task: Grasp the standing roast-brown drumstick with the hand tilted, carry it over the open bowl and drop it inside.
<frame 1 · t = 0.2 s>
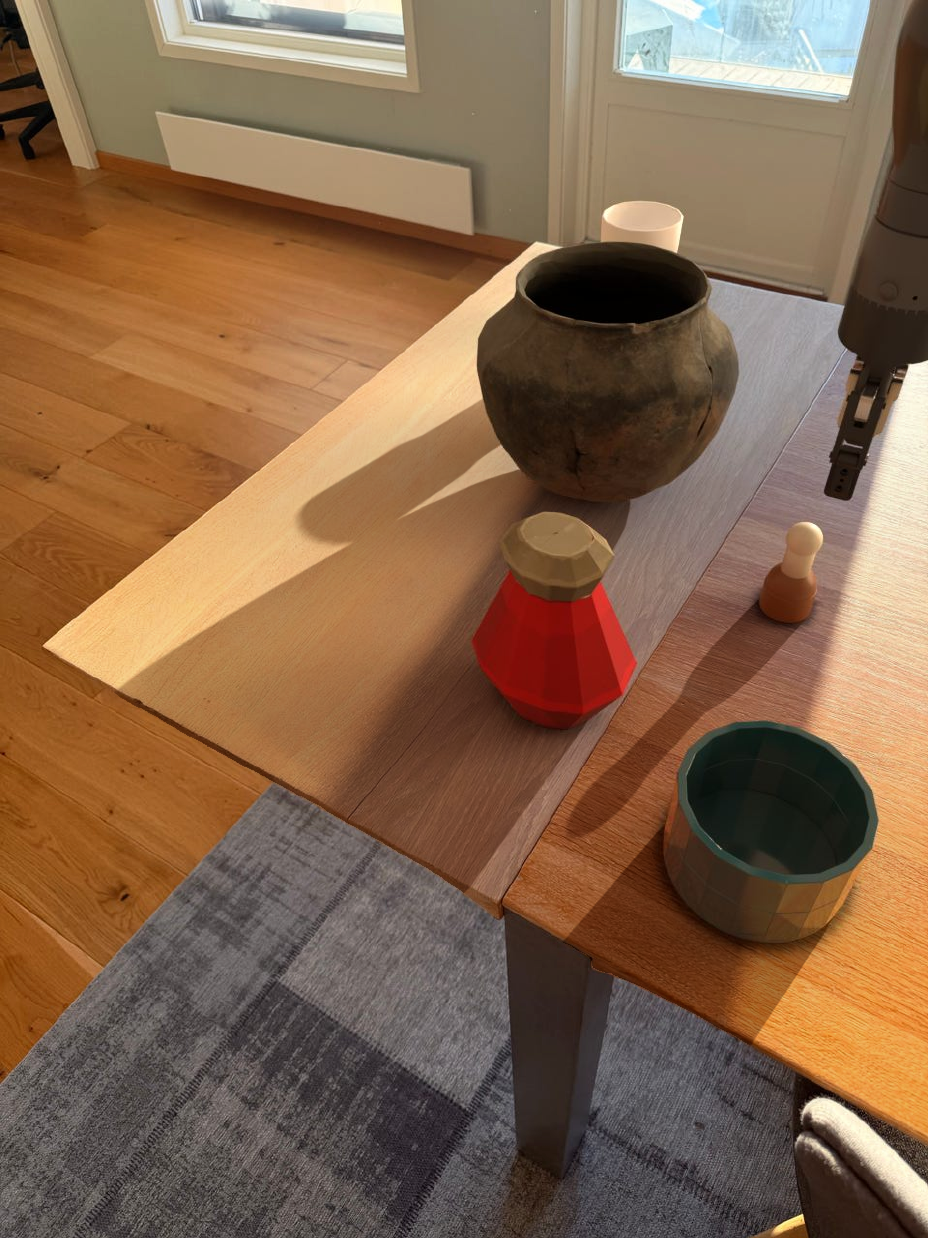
hand: (847, 468, 77), 21 cm above the table, tool pointing down, fingers open, 8 cm apart
bottle: (550, 695, 87), on the table
pot: (598, 478, 112), on the table
cup: (630, 332, 139), on the table
drumstick: (784, 605, 95), on the table
bowl: (752, 859, 74), on the table
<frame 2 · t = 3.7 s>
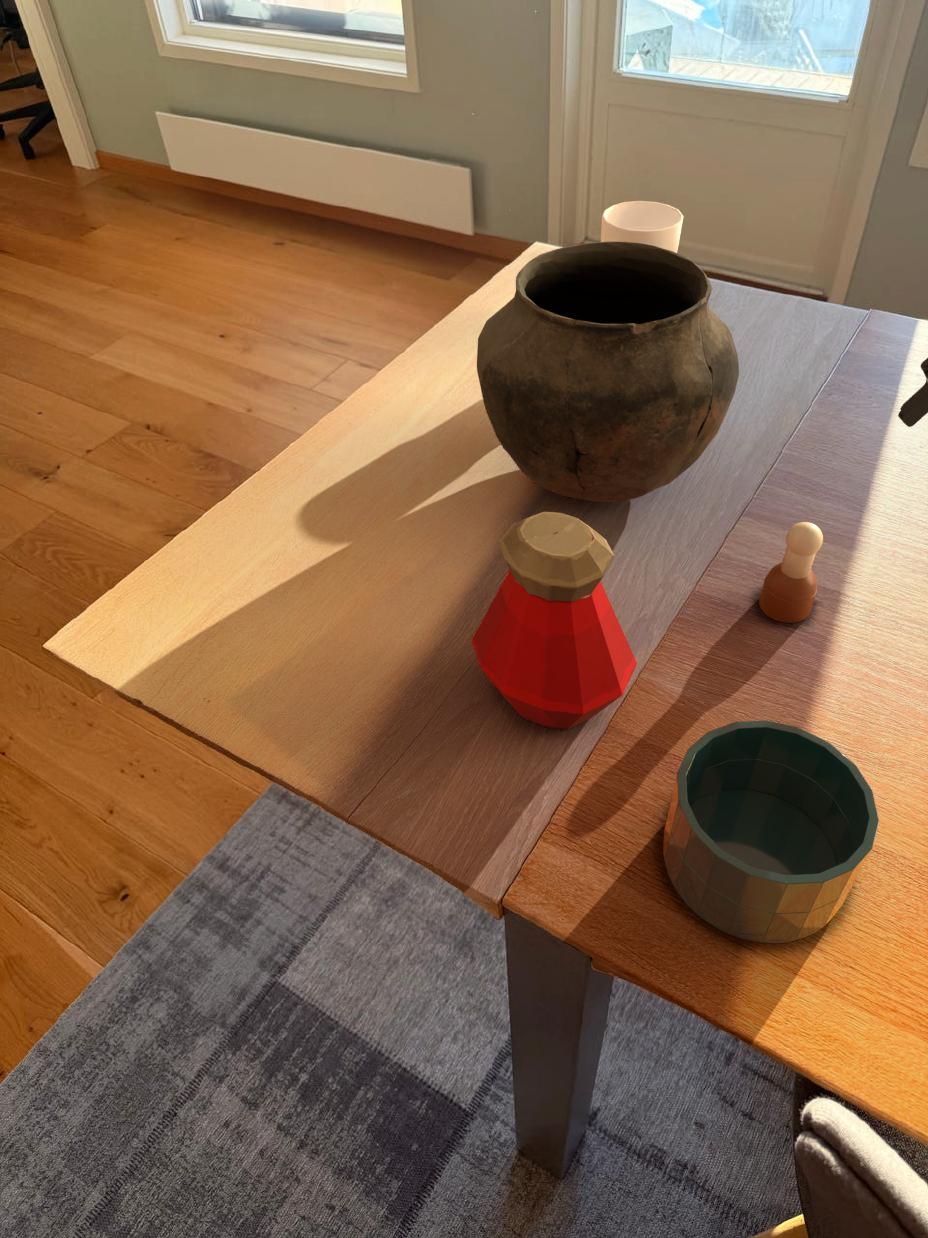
nothing on the table moved.
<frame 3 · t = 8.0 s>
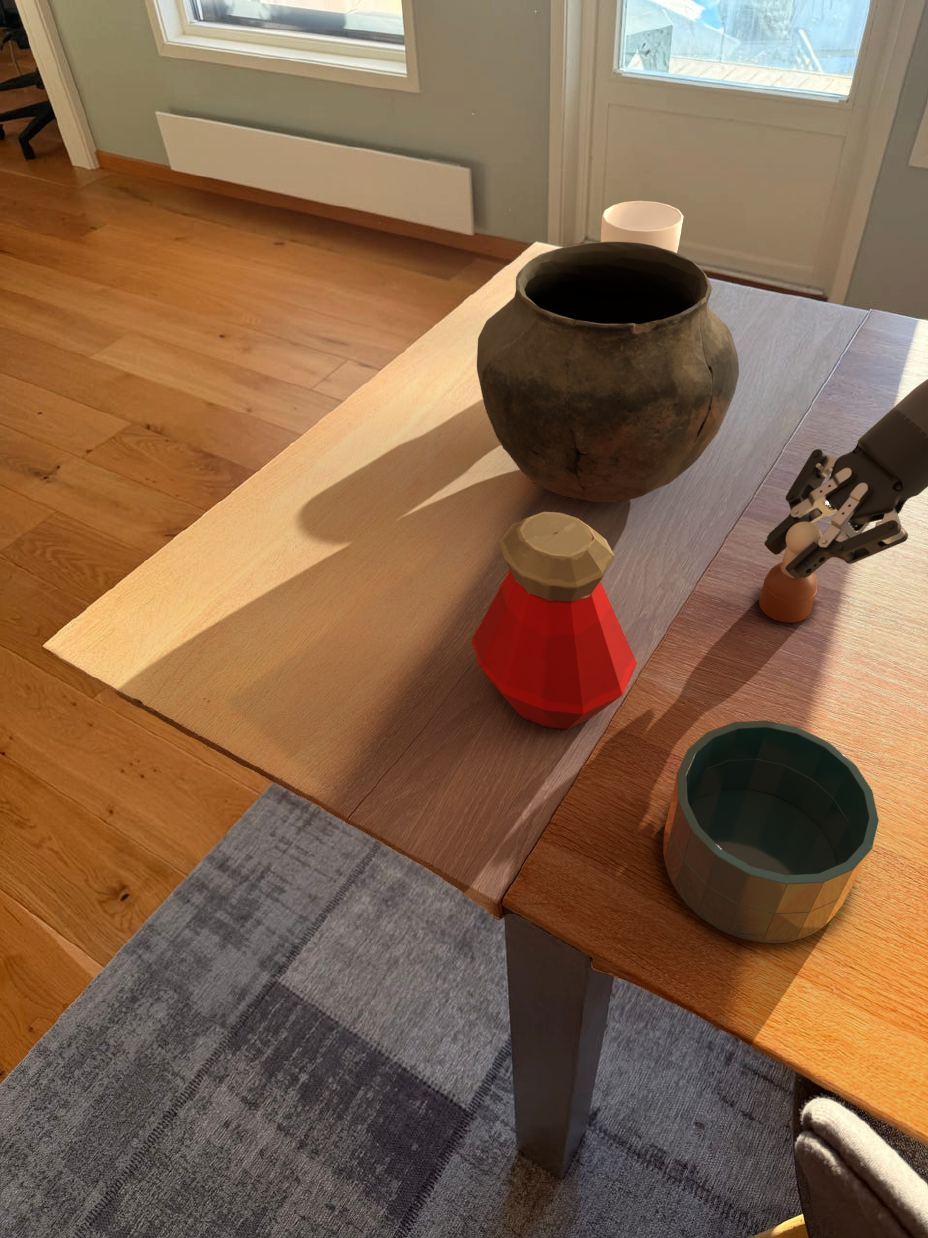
hand: (781, 561, 90), 7 cm above the table, tool tilted 45°, fingers closed on drumstick, 3 cm apart
drumstick: (784, 605, 95), on the table, touching gripper
everything else where it was.
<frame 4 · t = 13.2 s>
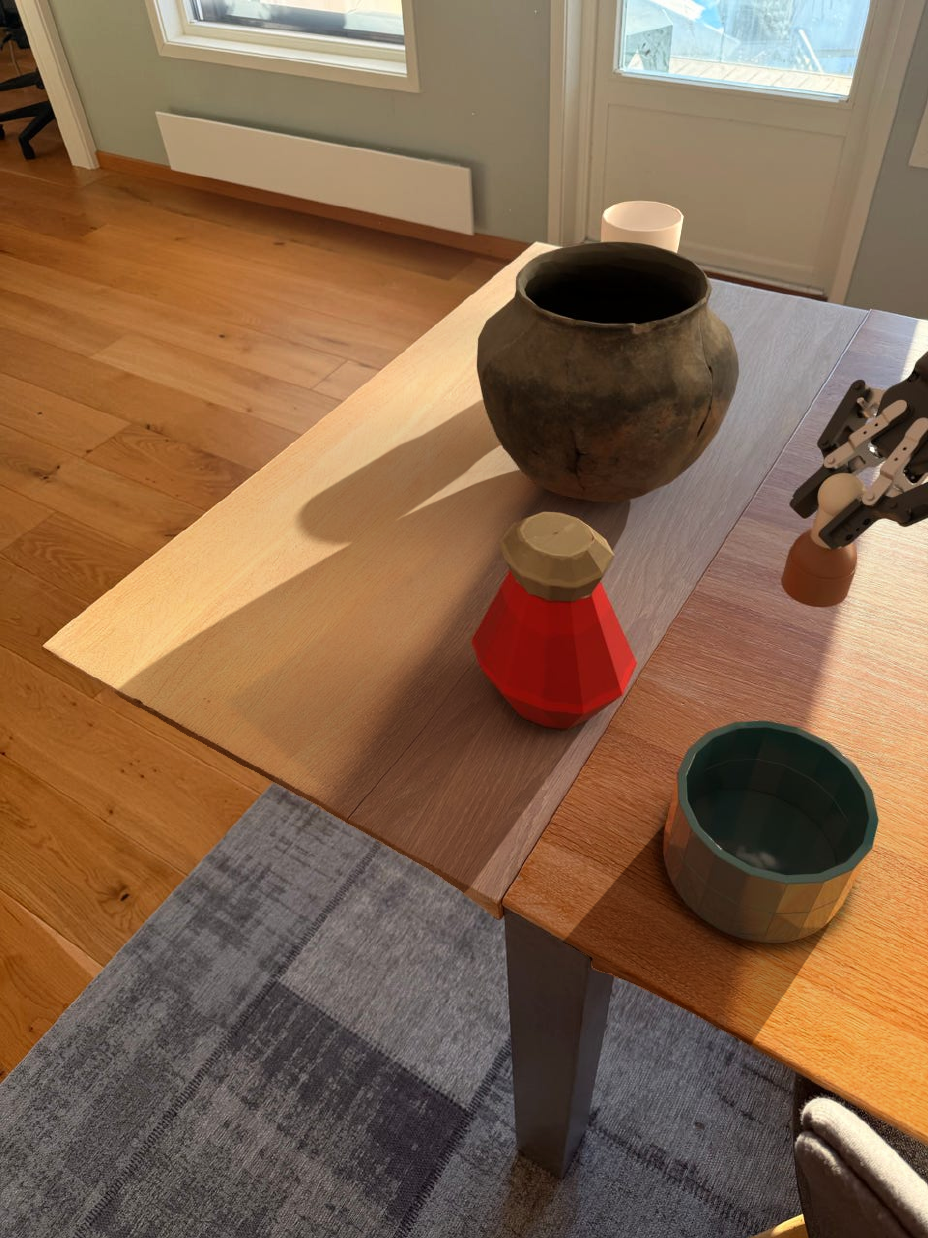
hand: (811, 526, 69), 23 cm above the table, tool tilted 45°, fingers closed on drumstick, 3 cm apart
drumstick: (814, 586, 74), point 16 cm above the table, touching gripper
everything else where it was.
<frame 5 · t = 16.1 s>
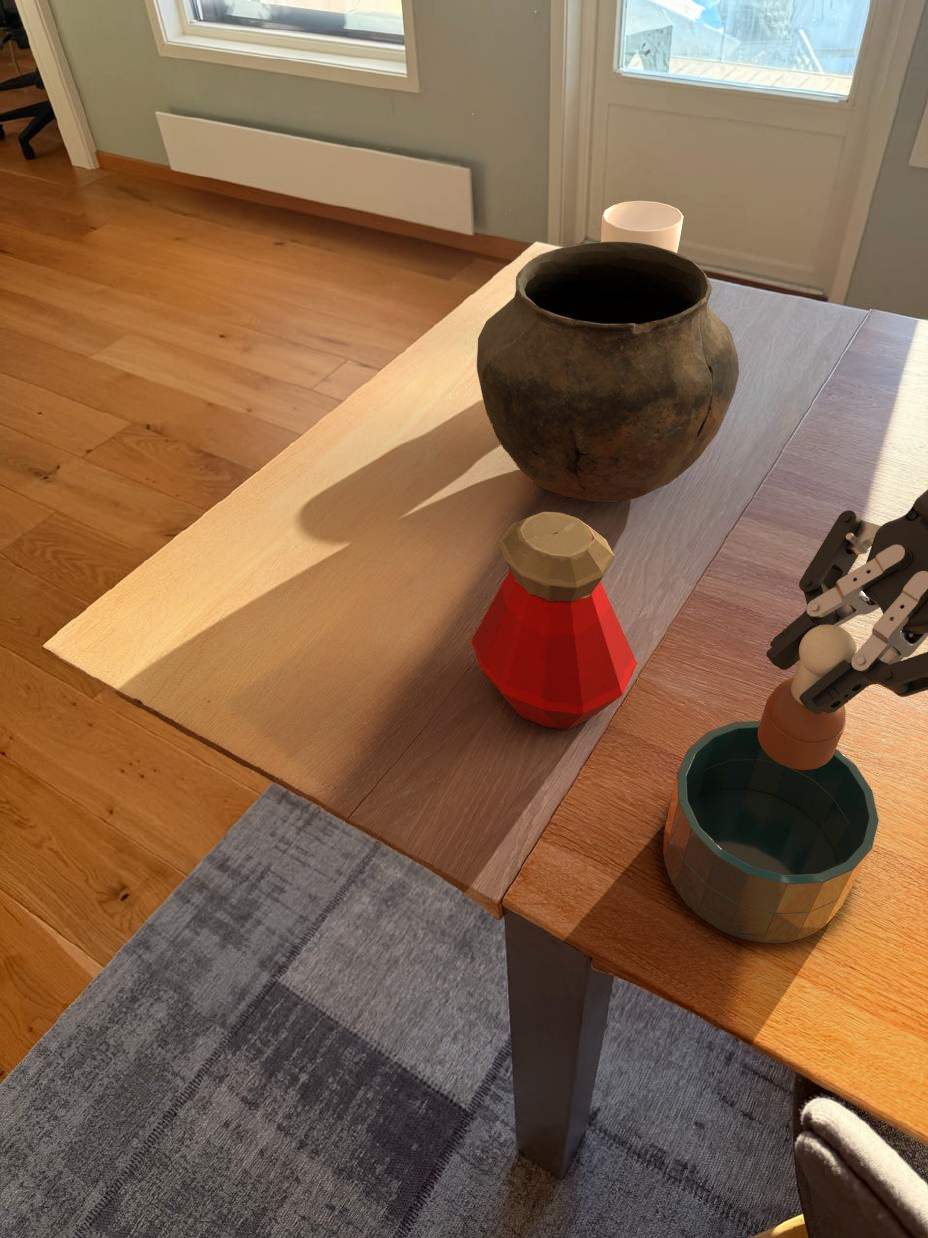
hand: (792, 683, 58), 22 cm above the table, tool tilted 45°, fingers closed on drumstick, 3 cm apart
drumstick: (795, 740, 63), point 15 cm above the table, touching gripper
everything else where it was.
when the fingers open (15 cm above the table, at t = 18.6 s): drumstick drops 8 cm, resting on bowl.
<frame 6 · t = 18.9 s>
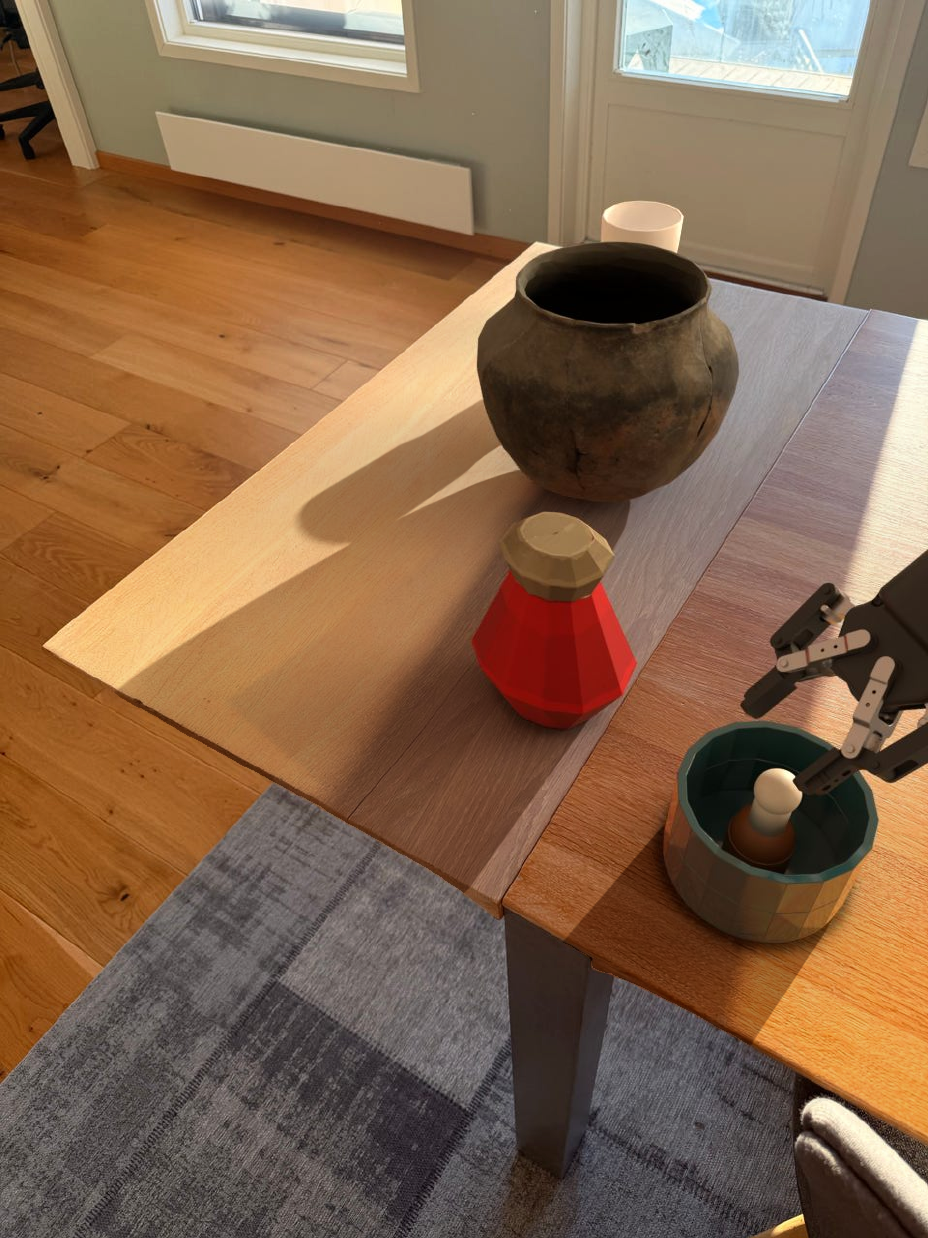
hand: (773, 749, 63), 15 cm above the table, tool tilted 45°, fingers open, 6 cm apart
drumstick: (754, 855, 74), resting on bowl
everything else where it was.
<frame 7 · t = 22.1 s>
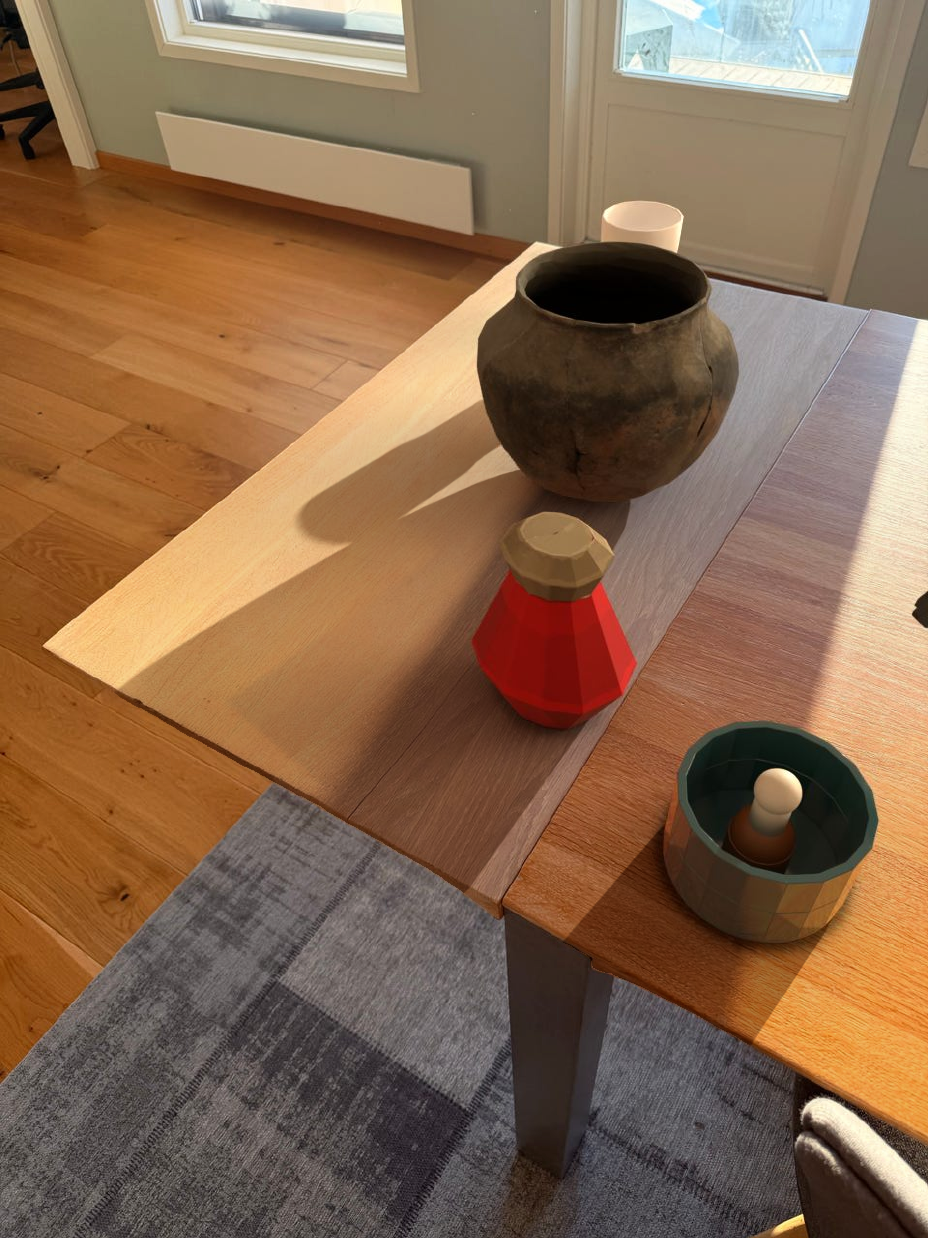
nothing on the table moved.
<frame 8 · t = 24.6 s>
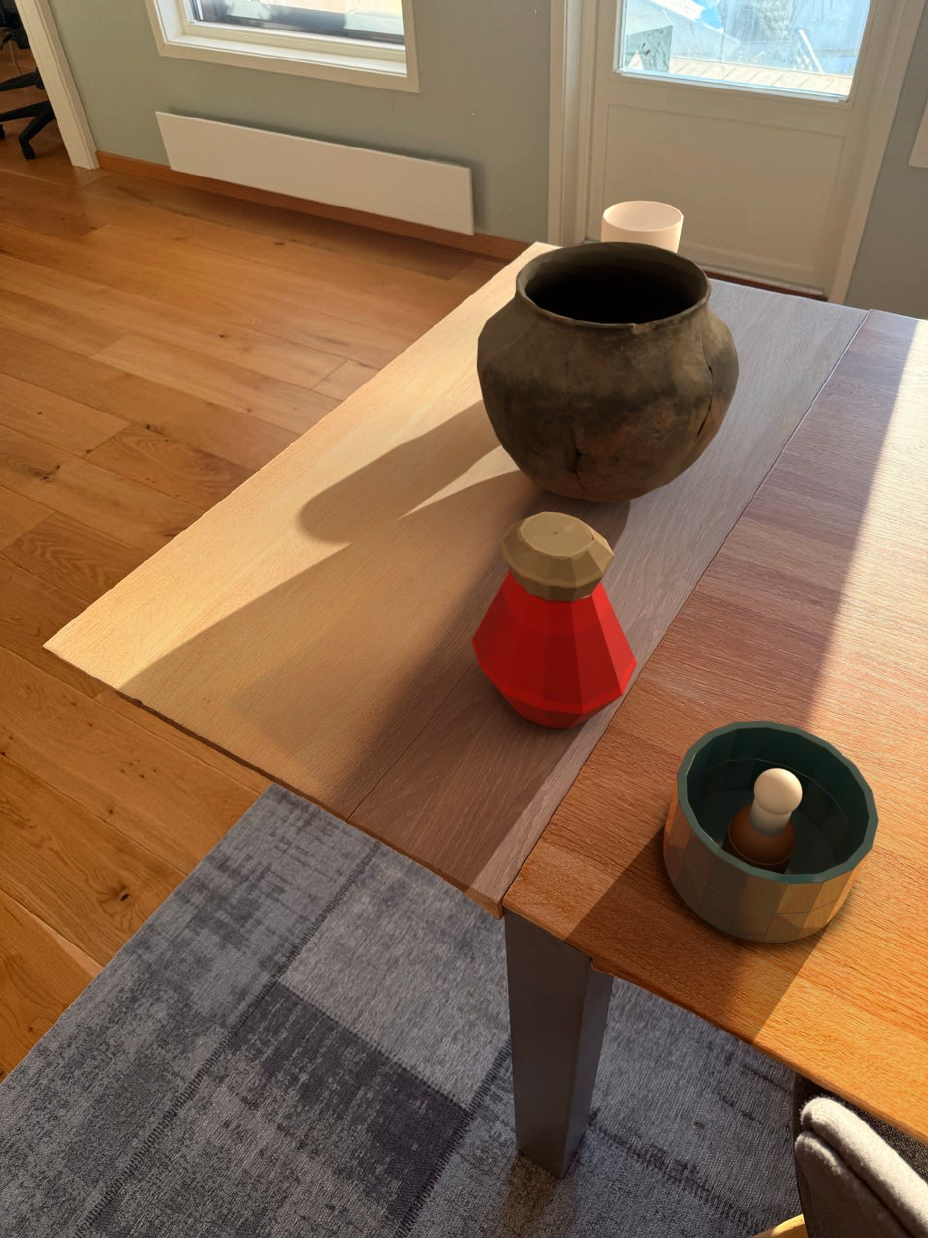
nothing on the table moved.
at the end: drumstick inside the target area in the bowl (0.1 cm from its centre), point 0.5 cm above the bowl's base; the gripper is holding nothing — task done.
